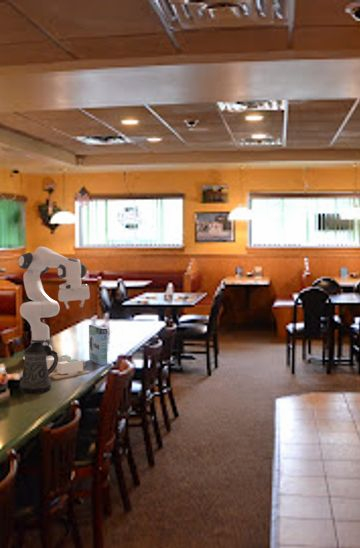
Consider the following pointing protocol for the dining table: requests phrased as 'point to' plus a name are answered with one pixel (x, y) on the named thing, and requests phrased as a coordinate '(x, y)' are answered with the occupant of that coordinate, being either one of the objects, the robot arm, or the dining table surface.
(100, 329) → the blue cardboard box
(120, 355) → the dining table surface
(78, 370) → the rail board
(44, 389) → the beer stein
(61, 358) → the module block
